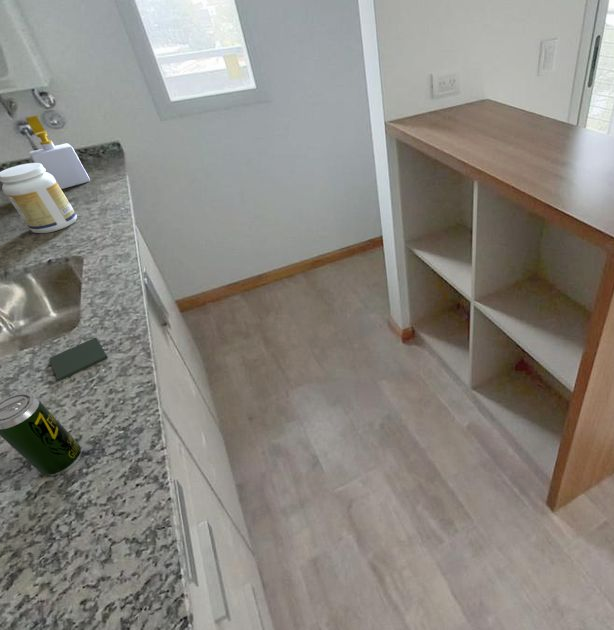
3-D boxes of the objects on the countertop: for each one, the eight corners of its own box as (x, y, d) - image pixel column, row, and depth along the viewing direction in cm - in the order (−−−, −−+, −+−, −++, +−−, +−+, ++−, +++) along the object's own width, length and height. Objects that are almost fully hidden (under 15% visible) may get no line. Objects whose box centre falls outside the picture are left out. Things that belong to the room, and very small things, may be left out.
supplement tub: (66, 213, 138) (33, 159, 127) (87, 220, 133) (54, 164, 122) (23, 230, 130) (-16, 173, 119) (43, 238, 125) (4, 180, 114)
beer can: (41, 485, 61) (-18, 431, 54) (41, 458, 65) (-14, 404, 57) (85, 464, 63) (34, 410, 56) (82, 439, 67) (35, 385, 60)
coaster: (59, 381, 78) (57, 379, 77) (50, 359, 82) (48, 358, 82) (108, 357, 82) (106, 355, 81) (97, 338, 86) (96, 336, 86)
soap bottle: (53, 192, 154) (9, 121, 139) (49, 187, 158) (7, 118, 143) (91, 181, 160) (54, 112, 146) (87, 177, 164) (50, 110, 149)
